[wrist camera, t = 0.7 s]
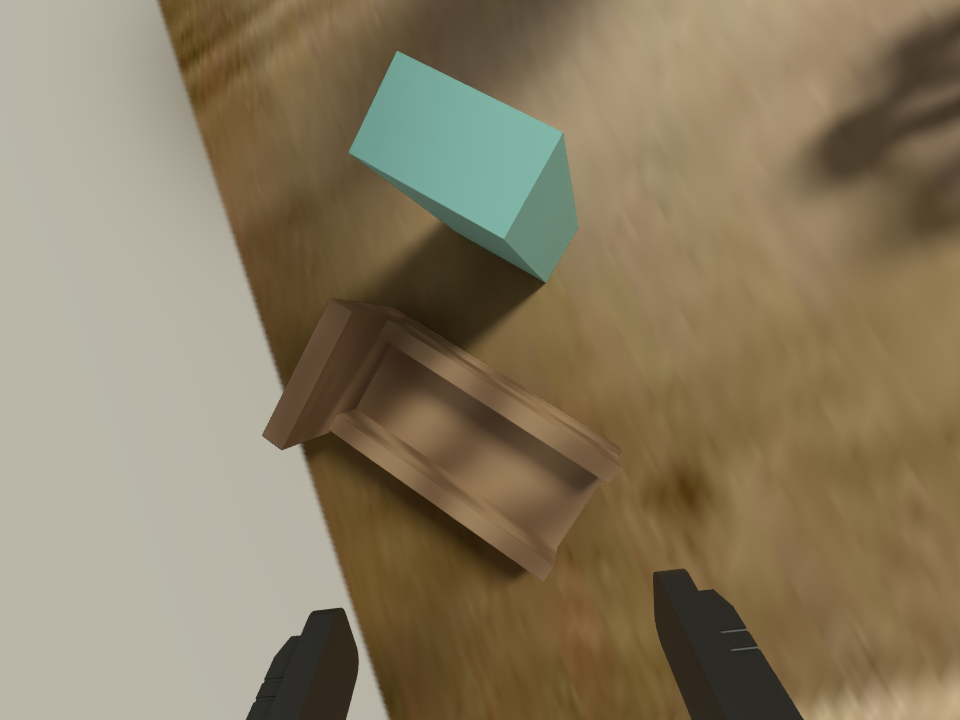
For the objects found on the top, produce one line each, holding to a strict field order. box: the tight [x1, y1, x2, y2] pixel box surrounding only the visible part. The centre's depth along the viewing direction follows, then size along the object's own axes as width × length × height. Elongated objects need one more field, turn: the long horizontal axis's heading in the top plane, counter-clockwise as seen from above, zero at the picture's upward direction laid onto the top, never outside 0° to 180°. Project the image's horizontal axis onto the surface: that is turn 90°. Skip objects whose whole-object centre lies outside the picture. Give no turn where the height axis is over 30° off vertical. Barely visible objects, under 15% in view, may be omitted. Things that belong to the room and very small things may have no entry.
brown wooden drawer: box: [262, 298, 621, 582], centre depth 28 cm, size 18×9×8 cm, turn 59°
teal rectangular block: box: [349, 51, 578, 283], centre depth 23 cm, size 7×4×14 cm, turn 59°
